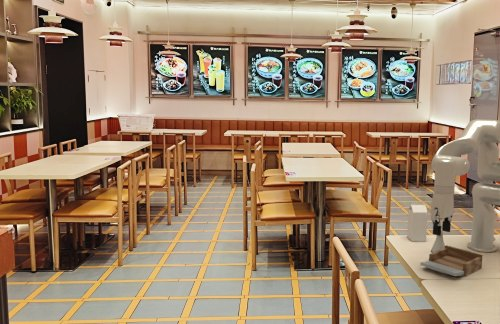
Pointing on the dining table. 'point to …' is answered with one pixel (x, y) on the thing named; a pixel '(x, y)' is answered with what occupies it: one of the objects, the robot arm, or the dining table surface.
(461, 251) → the wooden tray
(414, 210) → the milk carton
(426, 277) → the dining table surface
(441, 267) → the grey flat panel
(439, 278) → the dining table surface
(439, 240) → the flask
